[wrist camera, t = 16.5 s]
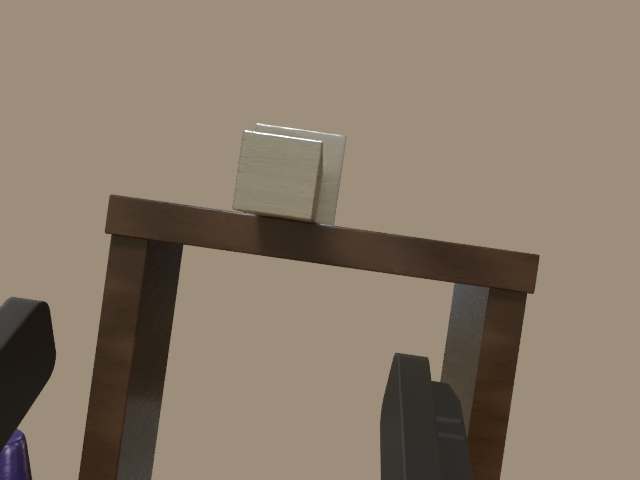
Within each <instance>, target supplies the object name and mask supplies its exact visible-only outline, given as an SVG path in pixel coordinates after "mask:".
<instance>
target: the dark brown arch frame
mask: <svg viewBox="0 0 640 480" xmlns="http://www.w3.org/2000/svg"><path fill="white" fill-rule="evenodd" d="M105 233H106V234H112V235H111V243H110V250H109V258H108V265H107V272H106V280H105V287H104V294H103V302H102V309H101V317H100V324H99V331H98V339H97V346H96V354H95V361H94V368H93V376H92V383H91V391H90V398H89V406H88V413H87V420H86V428H85V435H84V442H83V451H82V458H81V465H80V472H79V480H151V476H152V469H153V461H154V454H155V447H156V439H157V432H158V424H159V418H160V409H161V403H162V396H163V388H164V381H165V374H166V367H167V359H168V351H169V344H170V337H171V330H172V323H173V316H174V308H175V301H176V294H177V286H178V279H179V272H180V264H181V257H182V250H183V244H184V245H192V246H198V247H206V248H213V249H219V250H226V251H233V252H241V253H249V254H255V255H262V256H269V257H276V258H283V259H290V260H298V261H305V262H311V263H319V264H325V265H333V266H339V267H347V268H354V269H361V270H368V271H375V272H382V273H389V274H396V275H403V276H410V277H417V278H424V279H431V280H438V281H446V282H453V283H455V285H454V292H453V299H452V306H451V313H450V320H449V326H448V333H447V340H446V346H445V353H444V360H443V367H442V374H441V381H440V382H442V383H449V385H450V386H451V388H452V389H453V391H454V393H455V394H456V396H457V397H458V399H459V400H460V402H461V407H462V412H463V418H464V425H465V430H466V435H467V442H468V447H469V453H470V459H471V464H472V470H473V476H474V480H500V473H501V467H502V460H503V453H504V447H505V440H506V433H507V426H508V420H509V413H510V405H511V399H512V392H513V386H514V379H515V372H516V364H517V358H518V352H519V345H520V338H521V331H522V325H523V318H524V311H525V304H526V298H527V293H530V294H533V293H534V290H535V283H536V277H537V270H538V263H539V255H536V254H529V253H522V252H515V251H508V250H501V249H493V248H487V247H480V246H473V245H465V244H458V243H452V242H444V241H437V240H430V239H423V238H416V237H408V236H402V235H395V234H388V233H381V232H373V231H367V230H366V231H365V230H359V229H352V228H345V227H338V226H331V225H324V224H317V223H310V222H303V221H296V220H289V219H282V218H274V217H267V216H260V215H253V214H246V213H239V212H231V211H225V210H218V209H211V208H203V207H196V206H189V205H181V204H175V203H168V202H161V201H154V200H147V199H140V198H133V197H126V196H119V195H110V197H109V205H108V213H107V220H106V227H105Z"/></svg>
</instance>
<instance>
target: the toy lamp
mask: <svg viewBox="0 0 640 480" xmlns="http://www.w3.org/2000/svg"><path fill="white" fill-rule="evenodd" d="M0 480H32V476H31V469H30V462H29V456H28V449H27V443H26V438H25V435H24V434H23V433H22V432H21V431H20V430H18V429H16V430H15V432H14V433H13V435H12V436H11V438H10V439H9V441H8V442H7V444H6V445H5V447H4V448H3V450H2V451H1V453H0Z"/></svg>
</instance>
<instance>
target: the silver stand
mask: <svg viewBox="0 0 640 480" xmlns="http://www.w3.org/2000/svg"><path fill="white" fill-rule="evenodd" d="M345 142H346V136H344V135H337V134H329V133H322V132H315V131H308V130H301V129H294V128H287V127H280V126H272V125H265V124H258V123H257V124H256V128H255V131H250V130H244V131H243V136H242V143H241V150H240V157H239V165H238V171H237V179H236V186H235V194H234V201H233V209H234V210H237V211H242V212H244V213H246V214H253V215H260V216H267V217H274V218H282V219H289V220H296V221H303V222H310V223H317V224H324V225H331V226H334V220H335V213H336V206H337V199H338V192H339V184H340V178H341V170H342V163H343V156H344V149H345Z"/></svg>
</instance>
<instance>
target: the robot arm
mask: <svg viewBox="0 0 640 480" xmlns="http://www.w3.org/2000/svg"><path fill="white" fill-rule="evenodd" d="M55 360H56V349H55V343H54V336H53V329H52V322H51V315H50V309H49V306H48V304H47V303H46V302H44V301H37V300H30V299H23V298H16V297H11V298H9V299H7V300H6V301H5V302H4V303H3V305H2V306H1V307H0V453H1V451H2V450H3V448H4V447H5V445H6V444H7V442H8V441H9V439H10V438H11V436H12V435H13V433H14V432H15V430H16V429H17V427H18V426H19V424H20V423H21V421H22V419H23V418H24V416H25V415H26V413H27V412H28V410H29V409H30V407H31V406H32V404H33V403H34V401H35V400H36V398H37V397H38V395H39V394H40V392H41V391H42V389H43V388H44V386H45V384H46V383H47V381H48V380H49V378H50V376H51V374H52V372H53V369H54V365H55ZM380 444H381V445H380V449H381V450H380V451H381V480H474V476H473V470H472V464H471V459H470V453H469V447H468V442H467V435H466V430H465V425H464V418H463V412H462V407H461V402H460V400H459V399H458V397H457V396H456V394H455V393H454V391H453V389H452V388H451V386H450V385H449V383H442V382H435V381H431V374H430V366H429V360H428V358H427V357H421V356H415V355H407V354H400V353H395V355H394V358H393V362H392V366H391V370H390V374H389V378H388V382H387V386H386V390H385V394H384V398H383V403H382V410H381V420H380Z"/></svg>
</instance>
